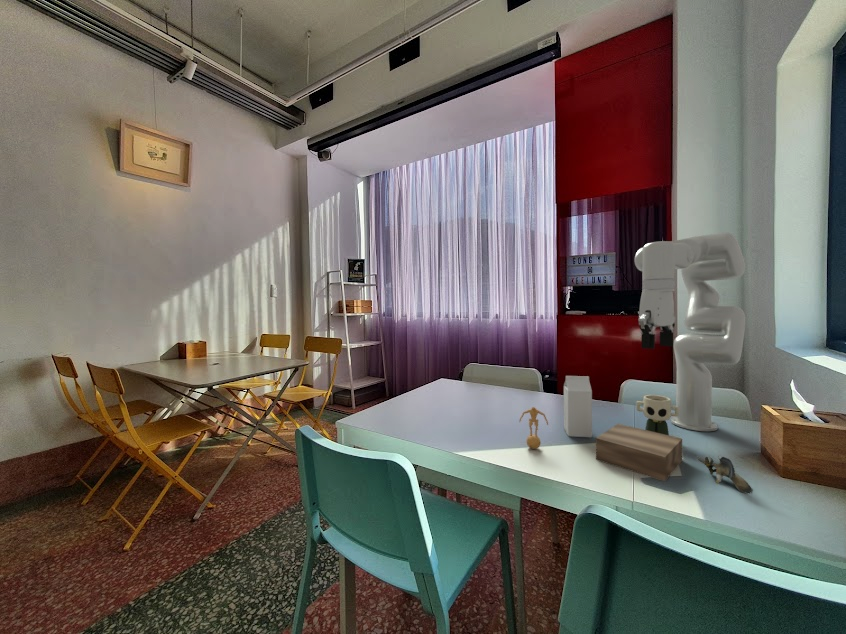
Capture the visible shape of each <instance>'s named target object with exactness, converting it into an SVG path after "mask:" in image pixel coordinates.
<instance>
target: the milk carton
mask: <svg viewBox="0 0 846 634" xmlns="http://www.w3.org/2000/svg"><path fill="white" fill-rule="evenodd" d="M563 429H564V431H565V433H566V434H567V437H575V438H576V437H577V438H578V437H579V438H592V436H593V390H592V386H591V383H590V376H588V375H587V376H584V375H583V376H580V375H579V376H578V375H565V381H564V383H563Z"/></svg>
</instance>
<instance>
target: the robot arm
mask: <svg viewBox="0 0 846 634" xmlns="http://www.w3.org/2000/svg"><path fill="white" fill-rule="evenodd" d="M634 265H635V267H636V269H637V270H638V271H640V272H641V273H642V275H641V276H642V280H641V281H642V283H641V284H642V287H641V289H642V290H641V291H642V292H641V296H640V301H639V312H638V319H637V320H638V325H639V329H640V334H641V337H640V339H641V342H640V343H641V344H640V346H641V348H642V349H647V350H648V349H649V350H655V348H656V347H655V345H656V341H655V340H656V334H655V333H654V332H655V331H656V328H660V330H661V331H660V333H659V346H661V347H673V351H674V357H675V363H676V364H675V365H676V366H675V367H676V396H675V397H676V401H675V403H676V405H675V406H678V407H679V415H678V416H677V417H676V416H671V418H670V422H671V423H672V424H673V425H675V426H677V427H679V428H683V429H686V430H690V431H691V430H692V431H698V432H714V431H717V430H718V424H717V423H715V422H713V421H712V416H713V415H712V409H713V404H712V402H713V401H712V399H713V397H712V396H713V395H712V394H713V391H712V390H713V377H712V372H711V371H710V370H709V368H708V367H707V366H706V365H705V364H716V365H723V366H724V365H726V366H727V365H728V366H731V365H732V366H733V365H736V364H738V362H740V360H741V356H742V352H743V345H744V338H745V329H746V315H745V312H744V310H743V309H742V308H741V307H739V306H735V305H719V303H720V294H719V292H718V291H717V290H716V289H715V288H714V287H712V285H710V284H709V283H707V282H708V281H723V280H724V281H727V280H735V279H740V278H741V277H742V276H743V275H744V273H745V272H746V271H745V270H746V262H745V258H744V255H743V252H742V249H741V246H740V244H739V242H738V239H737V238H736V237H735V236H734V235H733V234H732V233H729V232H720V233H713V234H712V233H711V234H706V235H697V236H696V235H695V236H692V237H687V238H682V239H675V240H671V241H667V240H666V241H665V240H662V241H661V240H660V241H653V242H648V243H646V244H645V245H644V246H643V247H640V248H639V249H638V250H637V252H636V253H635V256H634ZM676 270H680V272H681V276H682V280H683V283H684V285H685V288H686V290H687V294H688V299H687V304H686V309H685V313H684V314H685V315H684V320H683V321H684V322H683V324H684V328H685V329H686V330H687V331H689V333H688V332H687V333H681V334H680V335H678V336H676V337H675V338H674V332H675V329H674V328H675V323H676V319H677V316H675V300H674V292H675V290H676V289H675V287H676V279H675V277H676V276H675V275H676ZM706 281H707V282H706ZM690 332H691V333H690Z"/></svg>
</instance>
